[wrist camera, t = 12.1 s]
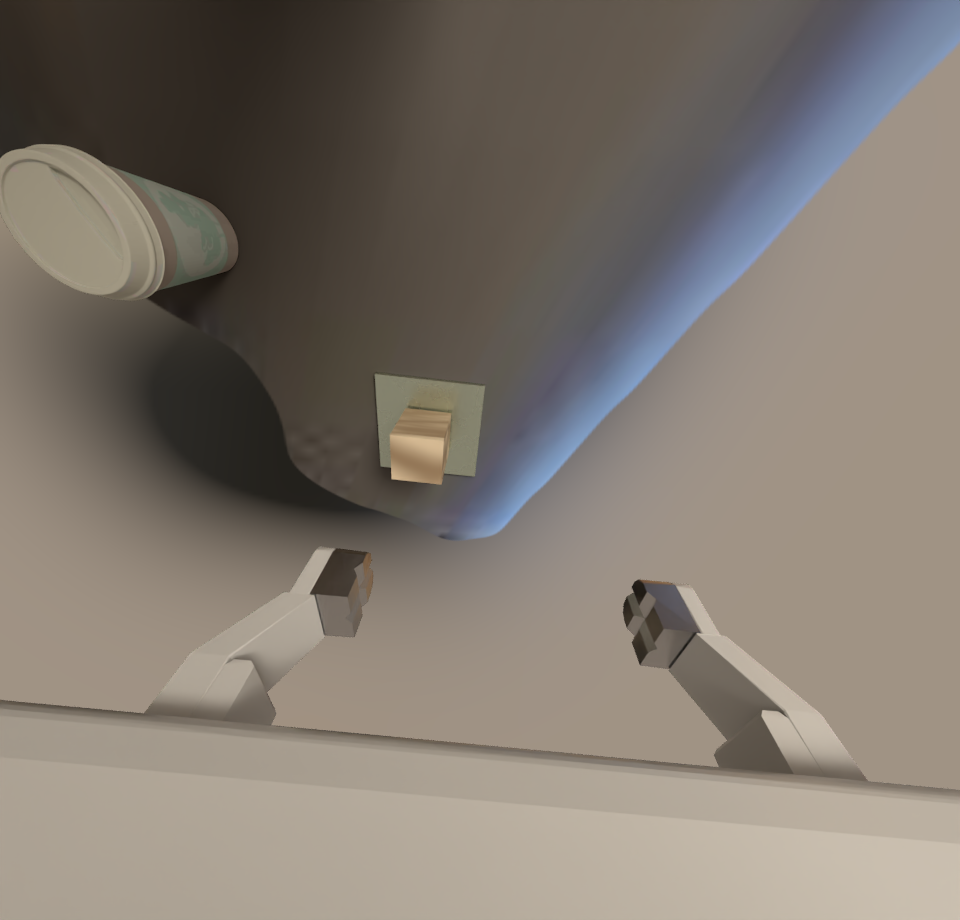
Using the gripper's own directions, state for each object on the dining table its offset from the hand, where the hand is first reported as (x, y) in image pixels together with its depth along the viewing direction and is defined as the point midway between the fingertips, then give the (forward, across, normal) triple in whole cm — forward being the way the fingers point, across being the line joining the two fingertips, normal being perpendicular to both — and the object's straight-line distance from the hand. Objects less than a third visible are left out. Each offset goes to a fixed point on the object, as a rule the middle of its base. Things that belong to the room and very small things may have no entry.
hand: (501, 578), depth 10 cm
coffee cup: (+29, +28, -7) cm, 41 cm away
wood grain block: (+28, +7, +10) cm, 31 cm away
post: (+29, +7, +10) cm, 32 cm away
